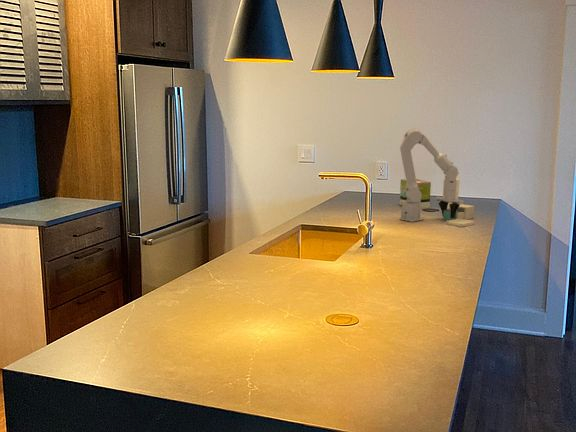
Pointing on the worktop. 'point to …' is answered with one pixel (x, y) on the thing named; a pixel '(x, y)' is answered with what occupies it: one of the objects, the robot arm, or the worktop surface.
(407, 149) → the robot arm
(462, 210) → the bay
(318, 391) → the worktop surface
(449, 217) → the tall grey-green carton
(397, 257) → the worktop surface
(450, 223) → the tray
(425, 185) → the tea box
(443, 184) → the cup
